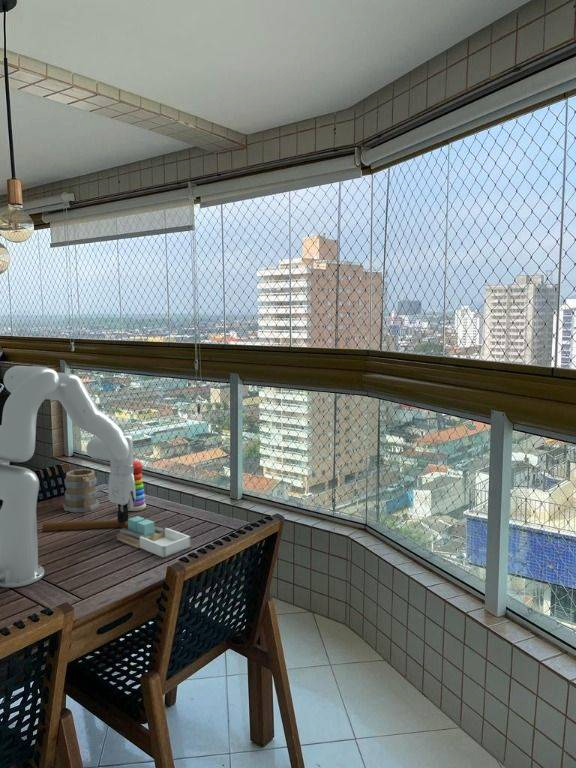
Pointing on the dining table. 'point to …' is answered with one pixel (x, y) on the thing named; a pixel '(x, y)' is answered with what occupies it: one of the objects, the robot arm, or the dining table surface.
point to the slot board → (138, 536)
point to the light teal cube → (145, 527)
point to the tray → (167, 543)
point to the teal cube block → (134, 523)
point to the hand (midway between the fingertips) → (122, 521)
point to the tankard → (80, 491)
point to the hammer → (83, 525)
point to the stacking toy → (138, 488)
